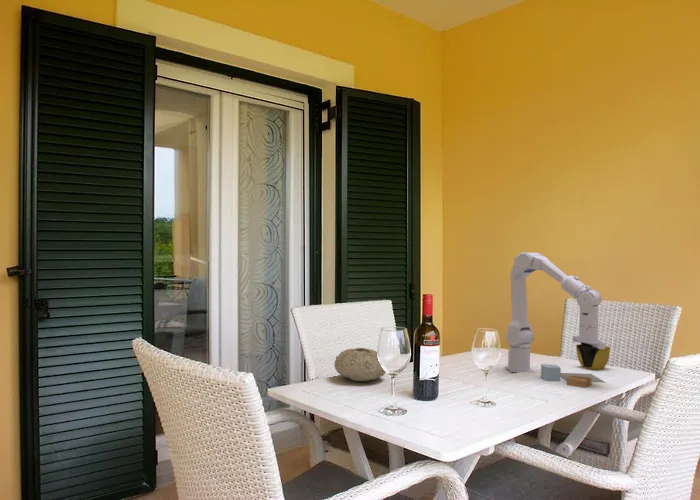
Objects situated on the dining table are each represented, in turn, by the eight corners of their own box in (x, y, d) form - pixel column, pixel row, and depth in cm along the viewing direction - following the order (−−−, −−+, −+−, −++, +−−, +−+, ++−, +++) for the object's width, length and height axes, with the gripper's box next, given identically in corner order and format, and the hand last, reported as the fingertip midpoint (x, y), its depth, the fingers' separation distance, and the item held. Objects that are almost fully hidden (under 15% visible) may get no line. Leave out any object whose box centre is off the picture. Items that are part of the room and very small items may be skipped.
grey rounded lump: (397, 381, 178) (398, 351, 178) (356, 389, 167) (357, 356, 167) (363, 371, 192) (364, 343, 192) (323, 377, 181) (323, 348, 181)
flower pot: (574, 367, 204) (575, 344, 204) (591, 365, 208) (591, 342, 208) (594, 372, 196) (594, 348, 196) (610, 370, 200) (610, 346, 200)
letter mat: (554, 373, 193) (554, 372, 193) (591, 374, 192) (591, 373, 192) (566, 382, 180) (566, 381, 180) (605, 383, 179) (605, 382, 179)
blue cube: (540, 378, 185) (541, 364, 185) (555, 379, 185) (555, 364, 185) (545, 382, 180) (545, 367, 180) (560, 382, 180) (560, 367, 180)
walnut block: (572, 383, 180) (572, 374, 180) (591, 386, 176) (591, 377, 176) (566, 386, 175) (566, 377, 175) (585, 390, 171) (585, 380, 171)
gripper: (565, 323, 184) (564, 362, 184) (591, 329, 170) (590, 371, 170) (583, 323, 186) (582, 362, 186) (611, 329, 172) (610, 371, 172)
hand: (587, 366), depth 178 cm, fingers closed
